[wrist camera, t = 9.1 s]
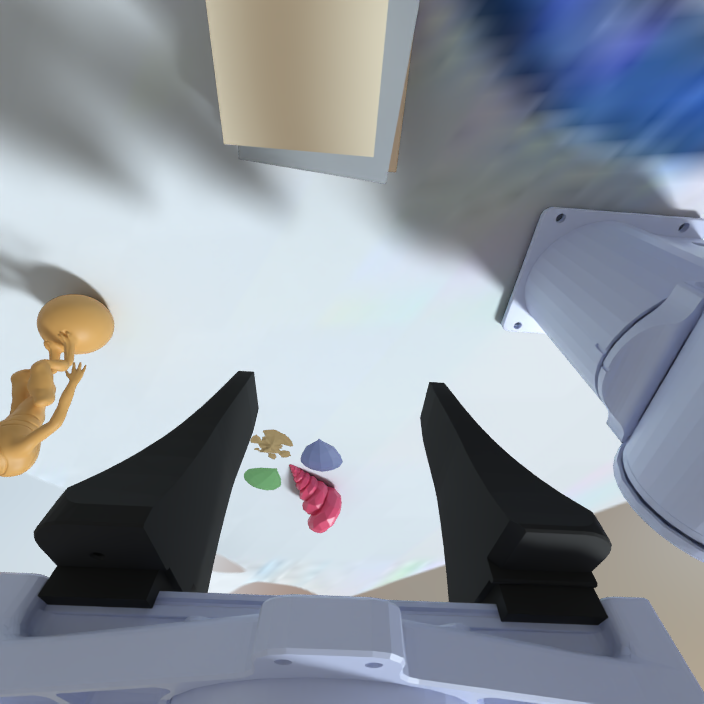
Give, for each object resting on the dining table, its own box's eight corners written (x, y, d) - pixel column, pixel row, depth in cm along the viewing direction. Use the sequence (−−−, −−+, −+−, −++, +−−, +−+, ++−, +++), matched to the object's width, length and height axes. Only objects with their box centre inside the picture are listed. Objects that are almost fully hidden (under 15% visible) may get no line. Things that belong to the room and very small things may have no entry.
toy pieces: (377, 459, 33) (378, 501, 30) (319, 509, 39) (315, 550, 35) (265, 408, 30) (251, 448, 26) (220, 471, 35) (203, 512, 32)
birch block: (385, -5, 11) (395, -74, 7) (371, 142, 13) (373, 157, 9) (259, -17, 11) (193, -94, 7) (268, 133, 13) (223, 144, 9)
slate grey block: (413, -1, 13) (425, -28, 10) (382, 173, 16) (385, 184, 14) (256, -33, 13) (229, -68, 10) (258, 152, 16) (238, 159, 14)
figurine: (116, 262, 22) (-85, 380, 12) (180, 333, 25) (60, 474, 15) (34, 309, 24) (-191, 441, 14) (101, 369, 27) (-47, 512, 18)
